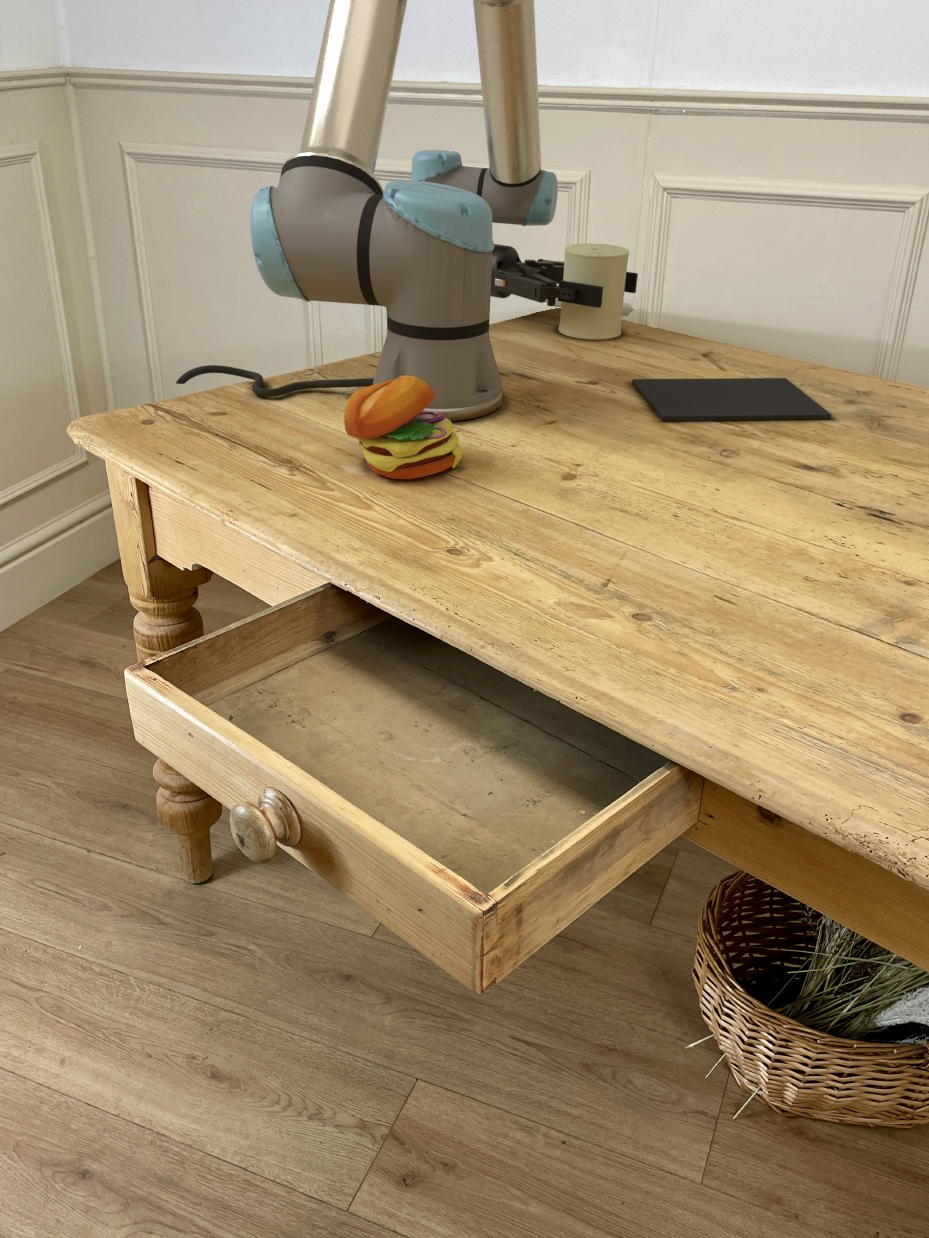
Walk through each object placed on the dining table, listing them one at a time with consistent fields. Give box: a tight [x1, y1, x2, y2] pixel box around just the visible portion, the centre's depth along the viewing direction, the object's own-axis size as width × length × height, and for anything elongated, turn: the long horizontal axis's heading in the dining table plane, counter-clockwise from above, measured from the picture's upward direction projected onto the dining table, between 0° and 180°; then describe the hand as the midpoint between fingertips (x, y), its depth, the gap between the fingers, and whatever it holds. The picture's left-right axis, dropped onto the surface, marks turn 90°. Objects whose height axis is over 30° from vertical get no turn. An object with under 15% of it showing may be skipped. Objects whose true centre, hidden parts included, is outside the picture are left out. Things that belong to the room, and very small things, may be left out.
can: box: [558, 243, 630, 341], centre depth 143 cm, size 9×9×12 cm
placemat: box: [631, 377, 832, 422], centre depth 120 cm, size 20×14×1 cm
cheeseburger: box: [343, 375, 463, 480], centre depth 98 cm, size 10×11×10 cm
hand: (619, 290), depth 141 cm, fingers open, 11 cm apart
